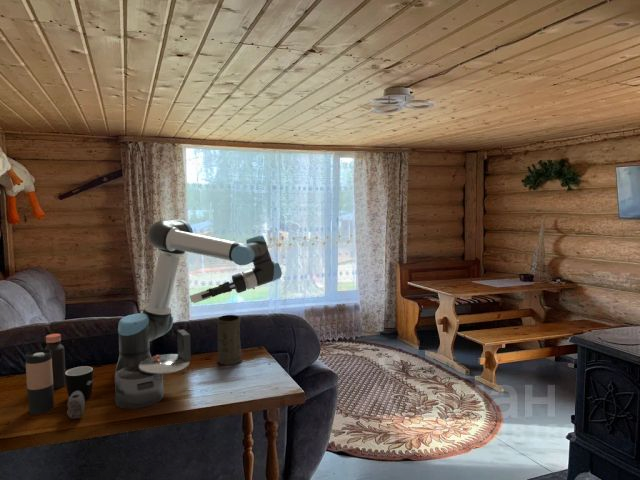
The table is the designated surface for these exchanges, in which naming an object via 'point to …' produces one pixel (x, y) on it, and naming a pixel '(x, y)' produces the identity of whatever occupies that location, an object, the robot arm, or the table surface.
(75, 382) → the mug
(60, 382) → the bottle
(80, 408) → the perforated stone tool
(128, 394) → the cooker pot
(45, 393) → the travel mug
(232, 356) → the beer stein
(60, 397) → the table surface
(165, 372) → the lid
